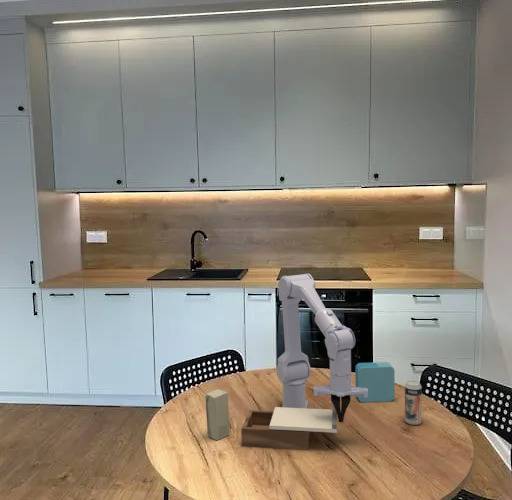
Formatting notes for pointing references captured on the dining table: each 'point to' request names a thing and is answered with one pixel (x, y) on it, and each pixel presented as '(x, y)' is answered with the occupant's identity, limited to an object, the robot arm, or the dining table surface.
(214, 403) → the box
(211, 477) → the dining table surface
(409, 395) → the beer can
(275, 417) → the lid
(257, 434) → the walnut box
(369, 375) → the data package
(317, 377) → the dining table surface
